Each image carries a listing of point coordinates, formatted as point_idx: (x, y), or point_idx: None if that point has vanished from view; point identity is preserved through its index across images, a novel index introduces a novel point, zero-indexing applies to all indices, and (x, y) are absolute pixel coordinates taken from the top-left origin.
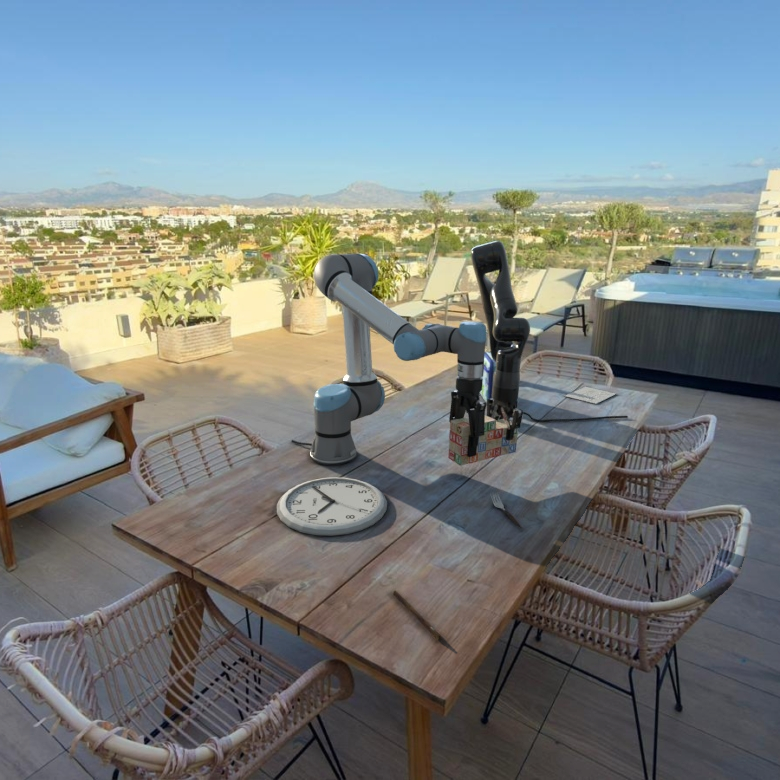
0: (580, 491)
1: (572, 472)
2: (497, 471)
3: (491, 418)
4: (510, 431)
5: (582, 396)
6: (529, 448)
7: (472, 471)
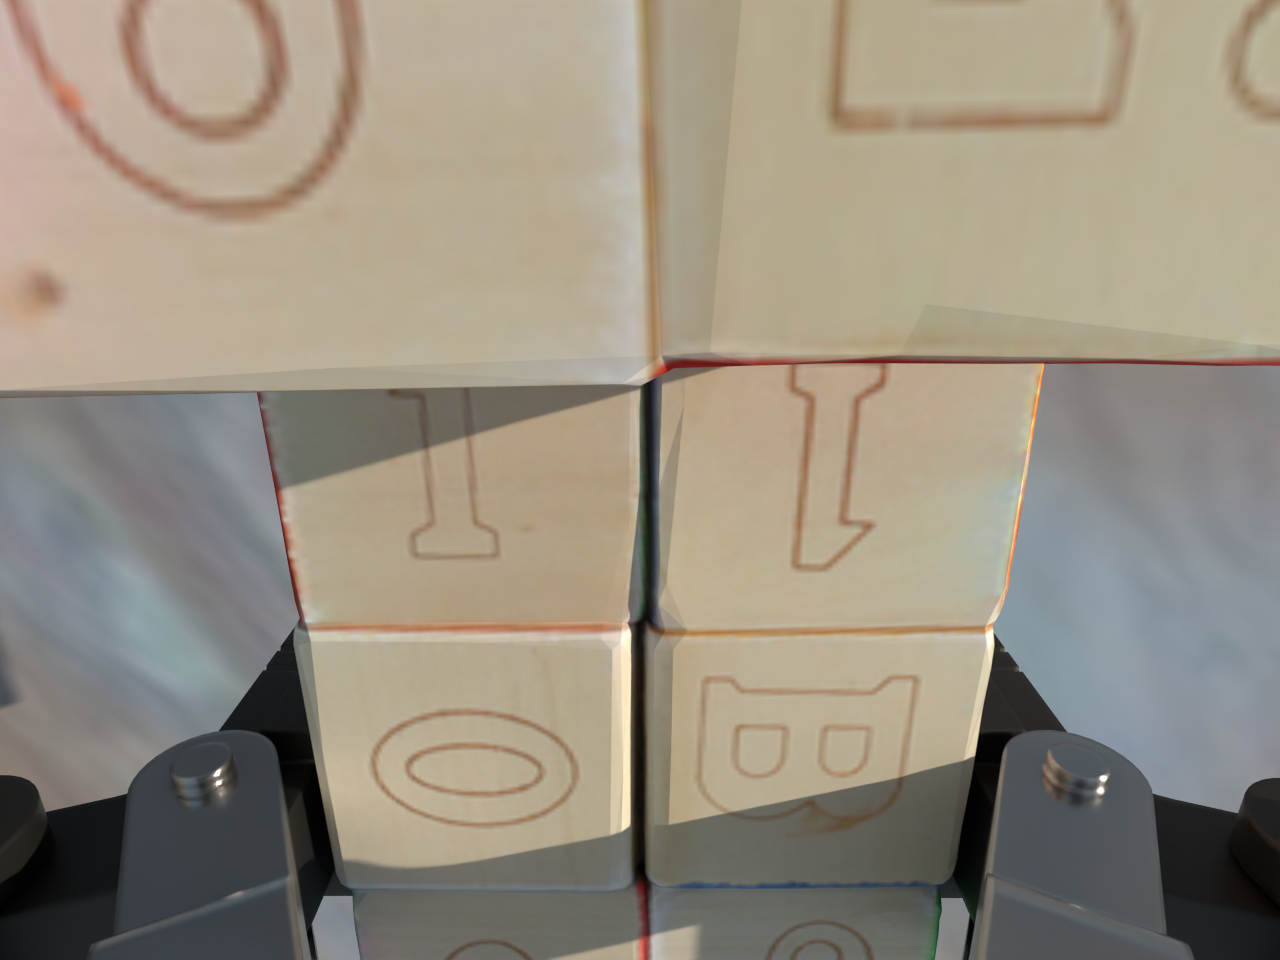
0: (2, 756)
1: (329, 921)
2: None
3: (286, 294)
4: (228, 728)
5: None
6: None
7: None
